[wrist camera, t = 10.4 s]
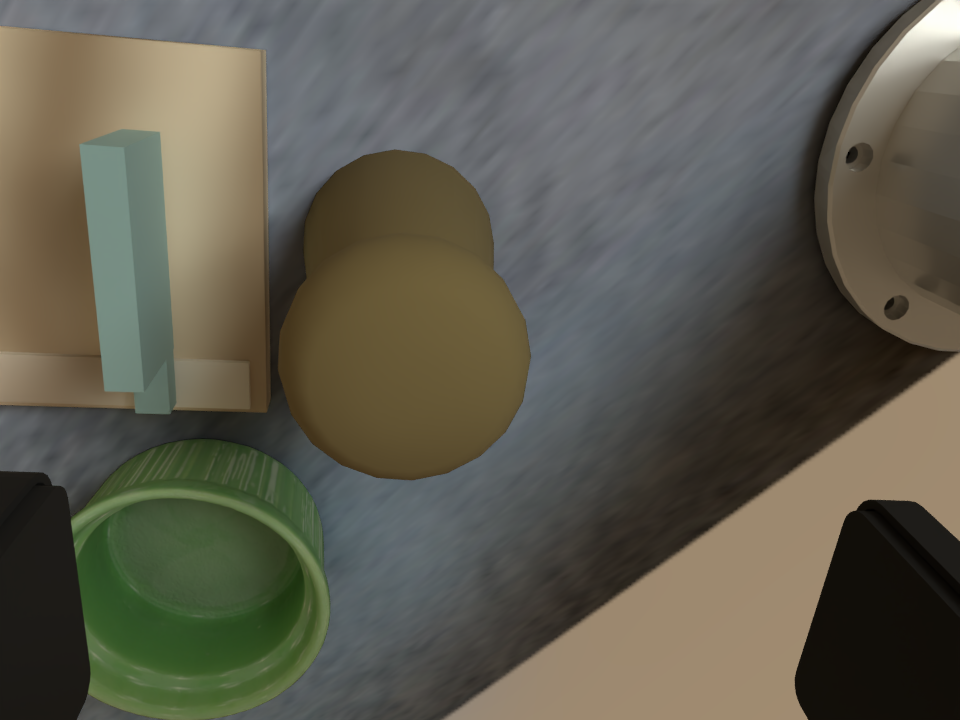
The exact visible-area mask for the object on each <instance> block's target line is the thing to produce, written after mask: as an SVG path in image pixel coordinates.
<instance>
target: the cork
mask: <svg viewBox="0 0 960 720" xmlns="http://www.w3.org/2000/svg"><path fill="white" fill-rule="evenodd" d="M303 254H304V262H305V270H306V277H307V279H306V280H305V281H304V282H303V284H302V285H301V286H300V287H299V288H298V290H297V293H296V295H295V297H294V300H293V302H292V304H291V307H290V309H289V311H288V314H287V316H286V318H285V321H284V323H283V326H282V328H281V331H280V338H279V357H278V372H279V375H280V379H281V382H282V385H283V389H284V392H285V395H286V399H287V402H288V405H289V408H290V412H291V415H292V416H293V417H294V419H295V420H296V422H297V423H298V424H299V426H300V427H301V429H302V430H303V431H304V433H305V434H306V436H307V437H308V438H309V440H310V441H311V442H312V444H314V445H315V446H316V447H318V448H319V449H320V450H322V451H323V452H324V453H326V454H327V455H328V456H330V457H331V458H333V459H334V460H335V461H337V462H338V463H339V464H341V465H343V466H345V467H348V468H351V469H354V470H357V471H359V472H362V473H365V474H368V475H371V476H373V477H376V478H387V479H401V480H416V479H421V478H426V477H431V476H436V475H441V474H445V473H448V472H450V471H452V470H454V469H456V468H458V467H460V466H462V465H464V464H466V463H468V462H470V461H472V460H474V459H476V458H477V457H479V456H481V455H482V454H483V453H484V452H485V451H486V450H487V449H488V448H489V447H490V446H491V445H492V444H493V443H494V442H496V441H497V440H498V439H499V438H500V437H501V436H502V435H503V434H504V433H505V432H506V430H507V429H508V427H509V425H510V423H511V421H512V420H513V418H514V416H515V414H516V412H517V411H518V409H519V407H520V405H521V403H522V402H523V397H524V391H525V386H526V381H527V375H528V370H529V364H530V358H531V354H530V347H529V341H528V334H527V328H526V322H525V319H524V317H523V315H522V313H521V311H520V310H519V308H518V306H517V304H516V302H515V300H514V298H513V297H512V295H511V293H510V291H509V289H508V287H507V285H506V283H505V282H504V280H503V279H502V278H501V277H500V276H499V275H498V274H497V273H496V272H495V271H494V270H493V266H494V242H493V236H492V230H491V224H490V218H489V214H488V212H487V210H486V208H485V206H484V204H483V202H482V201H481V199H480V197H479V195H478V193H477V191H476V189H475V188H474V187H473V186H472V185H471V184H470V183H469V182H468V181H467V180H466V179H465V178H464V177H463V176H462V175H461V174H460V173H459V172H458V171H457V170H456V169H455V168H454V167H452V166H450V165H448V164H445V163H443V162H441V161H439V160H437V159H435V158H433V157H431V156H429V155H427V154H423V153H416V152H409V151H401V150H390V151H384V152H379V153H374V154H369V155H364V156H362V157H360V158H358V159H357V160H355V161H353V162H351V163H349V164H348V165H346V166H344V167H342V168H341V169H339V170H337V171H336V172H335V173H334V174H333V175H332V177H331V178H330V179H329V180H328V181H327V182H326V183H325V184H324V186H323V187H322V188H321V189H320V190H319V191H318V192H317V193H316V196H315V198H314V201H313V203H312V205H311V208H310V210H309V213H308V215H307V217H306V220H305V228H304V244H303Z"/></svg>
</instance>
